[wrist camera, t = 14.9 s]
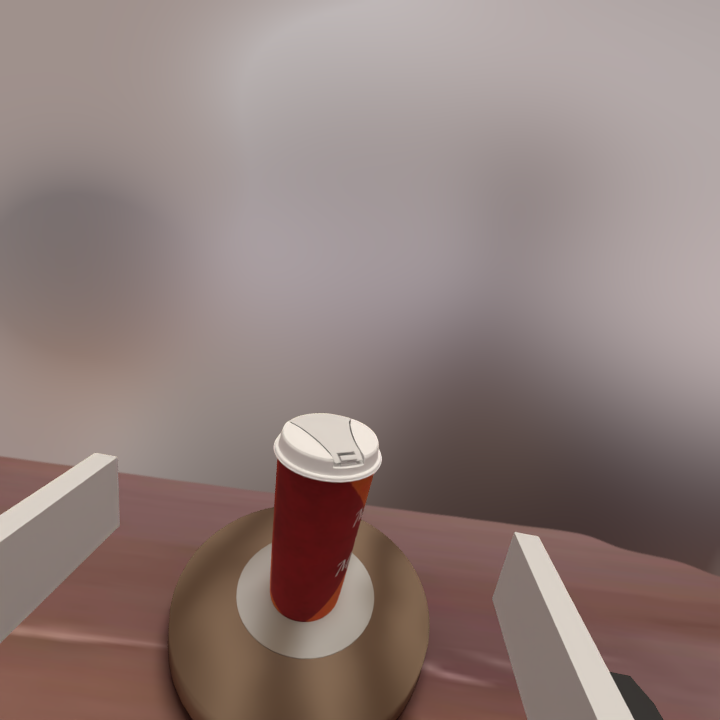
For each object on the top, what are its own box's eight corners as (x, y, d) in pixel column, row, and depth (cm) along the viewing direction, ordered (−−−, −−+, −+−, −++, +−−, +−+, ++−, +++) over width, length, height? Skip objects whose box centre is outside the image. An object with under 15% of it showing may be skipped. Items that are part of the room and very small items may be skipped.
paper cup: (368, 618, 28) (405, 457, 24) (267, 652, 25) (293, 469, 21) (331, 543, 35) (356, 407, 31) (247, 561, 31) (264, 410, 28)
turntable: (414, 541, 40) (418, 525, 39) (440, 803, 21) (449, 779, 20) (234, 505, 40) (235, 488, 40) (95, 729, 21) (94, 703, 21)
